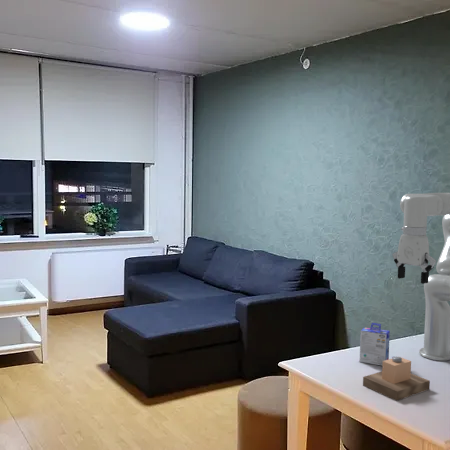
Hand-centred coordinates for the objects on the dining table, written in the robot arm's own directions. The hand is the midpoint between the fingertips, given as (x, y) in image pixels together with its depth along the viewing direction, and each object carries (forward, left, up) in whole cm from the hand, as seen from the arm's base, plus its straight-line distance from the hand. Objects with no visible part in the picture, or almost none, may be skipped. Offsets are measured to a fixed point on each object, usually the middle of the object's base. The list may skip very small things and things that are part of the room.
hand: (412, 280), depth 189 cm
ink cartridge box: (+2, -14, -34) cm, 36 cm away
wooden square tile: (+14, +6, -33) cm, 37 cm away
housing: (+14, +6, -30) cm, 34 cm away
